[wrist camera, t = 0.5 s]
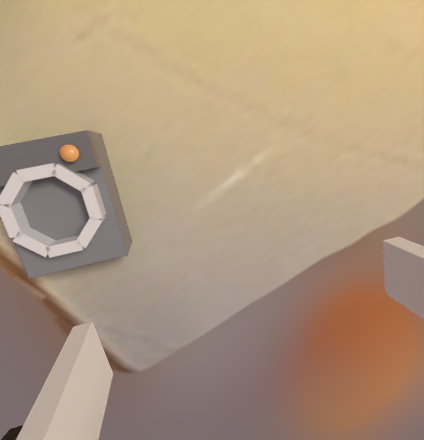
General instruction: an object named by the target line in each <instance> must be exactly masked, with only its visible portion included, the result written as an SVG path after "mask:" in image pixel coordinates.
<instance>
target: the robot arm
mask: <svg viewBox="0 0 424 440" xmlns="http://www.w3.org/2000/svg"><path fill="white" fill-rule="evenodd" d="M383 245H384V272H385V293H386V294H387V295H389V296H390V297H392V298H393V299H395V300H396V301H398V302H399V303H401V304H402V305H404V306H405V307H407V308H408V309H410V310H411V311H413V312H414V313H416V314H417V315H419V316H420V317H422V318H423V319H424V246H421V245H419V244H416V243H413V242H411V241H408V240H405V239H403V238H401V237H396V238H392V239H389V240H384V241H383ZM112 377H113V373H112V370H111V367H110V365H109V362H108V360H107V357H106V355H105V352H104V350H103V347H102V345H101V342H100V340H99V337H98V335H97V332H96V330H95V327H94V325H93V322H89V323H85V324H81V325H78V326H74V327H73V328H72V330H71V332H70V334H69V336H68V338H67V340H66V342H65V344H64V346H63V348H62V350H61V352H60V354H59V356H58V358H57V360H56V362H55V364H54V366H53V368H52V370H51V372H50V374H49V376H48V378H47V380H46V382H45V384H44V386H43V388H42V390H41V392H40V394H39V396H38V397H37V399H36V401H35V404H34V405H33V407H32V409H31V411H30V413H29V415H28V417H27V419H26V421H25V423H24V425H22V426H19V427H16V428H12V429H10V430H9V431H8V432H7V434H6V435H5V436H4V437H3V438H2V439H1V440H98V439H99V434H100V430H101V425H102V421H103V417H104V412H105V408H106V403H107V399H108V394H109V390H110V385H111V381H112Z"/></svg>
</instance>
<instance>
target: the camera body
mask: <svg viewBox="0 0 424 440" xmlns="http://www.w3.org/2000/svg"><path fill="white" fill-rule="evenodd" d="M0 216H1V218H2V221H3V223H4V226H5V228H6V230H7V233H8V235H9V238H13V242H14V243H15V246H16V248H17V250H18V253H19V255H20V258H21V260H22V263H23V265H24V267H25V270H26V272H27V275H28V277H29V278H33V277H37V276H42V275H46V274H50V273H54V272H59V271H63V270H67V269H71V268H76V267H80V266H84V265H88V264H93V263H97V262H101V261H105V260H110V259H114V258H118V257H122V256H127V255H128V252H129V249H130V246H131V243H132V239H131V236H130V232H129V229H128V225H127V222H126V219H125V215H124V212H123V208H122V205H121V201H120V198H119V194H118V191H117V187H116V184H115V180H114V177H113V173H112V170H111V166H110V163H109V159H108V156H107V152H106V149H105V145H104V142H103V138H102V135H101V134H100V133H95V132H91V131H87V130H86V131H81V132H76V133H70V134H65V135H59V136H54V137H49V138H43V139H38V140H32V141H27V142H22V143H16V144H11V145H5V146H0Z"/></svg>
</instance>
